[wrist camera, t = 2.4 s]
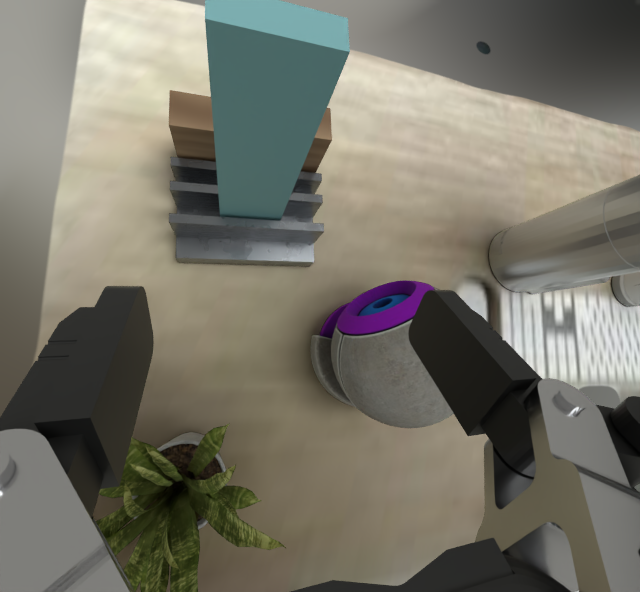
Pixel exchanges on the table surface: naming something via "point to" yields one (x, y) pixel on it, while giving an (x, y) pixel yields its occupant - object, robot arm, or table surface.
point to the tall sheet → (268, 96)
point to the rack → (240, 222)
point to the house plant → (176, 509)
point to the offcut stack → (198, 134)
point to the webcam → (379, 358)
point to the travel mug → (627, 288)
